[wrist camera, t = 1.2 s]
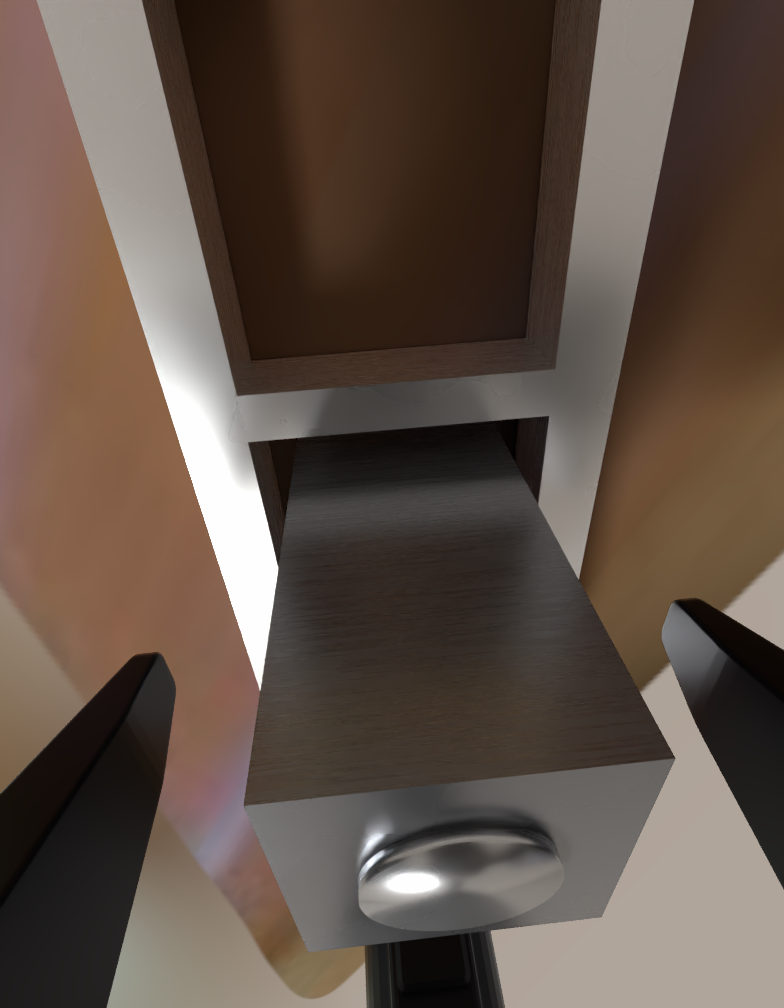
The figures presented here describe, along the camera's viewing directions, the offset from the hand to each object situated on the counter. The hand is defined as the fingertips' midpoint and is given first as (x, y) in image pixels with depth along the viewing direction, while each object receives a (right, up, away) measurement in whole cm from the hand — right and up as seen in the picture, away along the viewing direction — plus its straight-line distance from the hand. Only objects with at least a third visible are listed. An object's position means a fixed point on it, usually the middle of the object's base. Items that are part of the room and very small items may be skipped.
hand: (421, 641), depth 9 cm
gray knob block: (0, +3, +4) cm, 4 cm away
